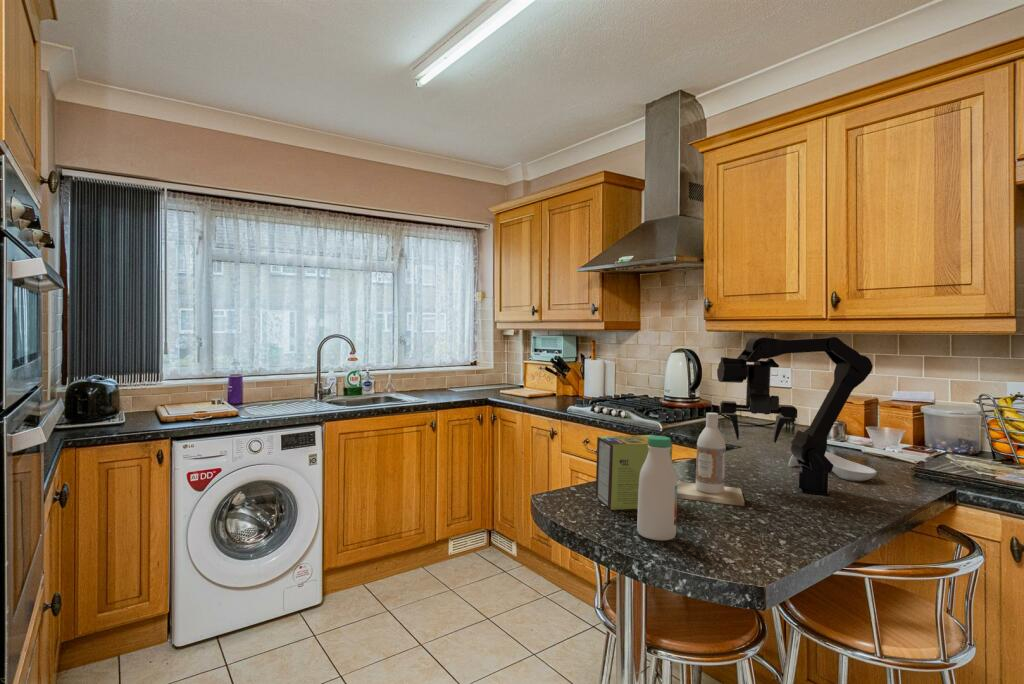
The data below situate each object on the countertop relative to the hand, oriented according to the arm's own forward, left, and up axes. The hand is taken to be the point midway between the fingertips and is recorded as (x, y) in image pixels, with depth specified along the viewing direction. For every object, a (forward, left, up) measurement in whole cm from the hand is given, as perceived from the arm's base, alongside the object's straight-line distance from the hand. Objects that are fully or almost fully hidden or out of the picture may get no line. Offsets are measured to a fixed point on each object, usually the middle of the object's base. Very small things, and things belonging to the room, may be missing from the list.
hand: (756, 440), depth 147 cm
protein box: (+30, +26, -13) cm, 42 cm away
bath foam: (+12, +12, -12) cm, 21 cm away
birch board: (+12, +12, -13) cm, 21 cm away
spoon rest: (-24, -28, -14) cm, 39 cm away
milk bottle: (+23, +46, -13) cm, 53 cm away
